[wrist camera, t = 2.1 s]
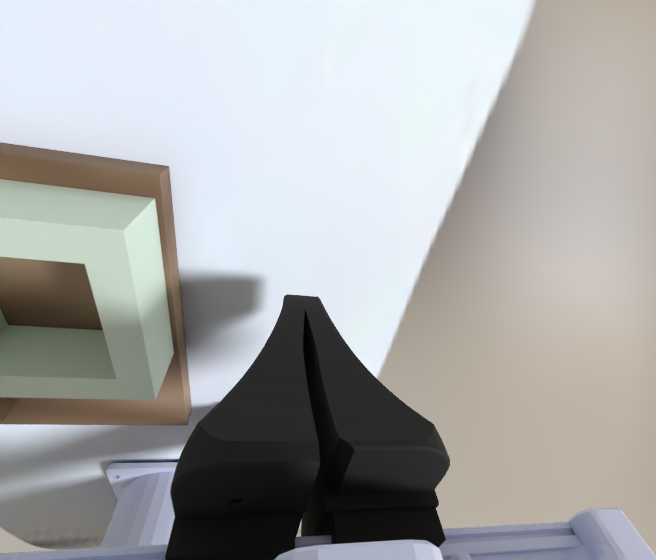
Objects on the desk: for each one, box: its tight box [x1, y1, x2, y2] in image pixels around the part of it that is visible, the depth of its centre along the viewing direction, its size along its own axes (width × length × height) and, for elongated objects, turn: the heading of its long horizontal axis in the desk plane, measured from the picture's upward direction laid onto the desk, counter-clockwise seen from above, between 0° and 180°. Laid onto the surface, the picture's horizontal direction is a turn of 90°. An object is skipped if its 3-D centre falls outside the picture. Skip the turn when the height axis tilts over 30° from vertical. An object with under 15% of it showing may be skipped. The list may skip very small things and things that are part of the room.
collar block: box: [0, 179, 174, 400], centre depth 11 cm, size 7×7×2 cm
